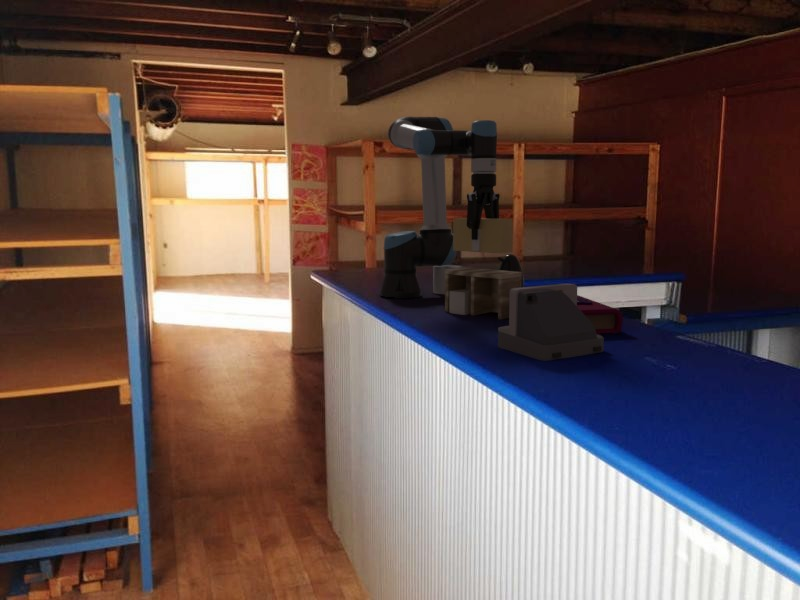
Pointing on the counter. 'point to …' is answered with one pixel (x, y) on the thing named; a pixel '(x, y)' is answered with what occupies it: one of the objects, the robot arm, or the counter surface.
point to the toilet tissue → (441, 277)
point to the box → (460, 301)
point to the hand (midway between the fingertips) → (483, 249)
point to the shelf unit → (483, 288)
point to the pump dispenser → (511, 265)
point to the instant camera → (548, 324)
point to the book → (601, 315)
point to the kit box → (484, 235)
